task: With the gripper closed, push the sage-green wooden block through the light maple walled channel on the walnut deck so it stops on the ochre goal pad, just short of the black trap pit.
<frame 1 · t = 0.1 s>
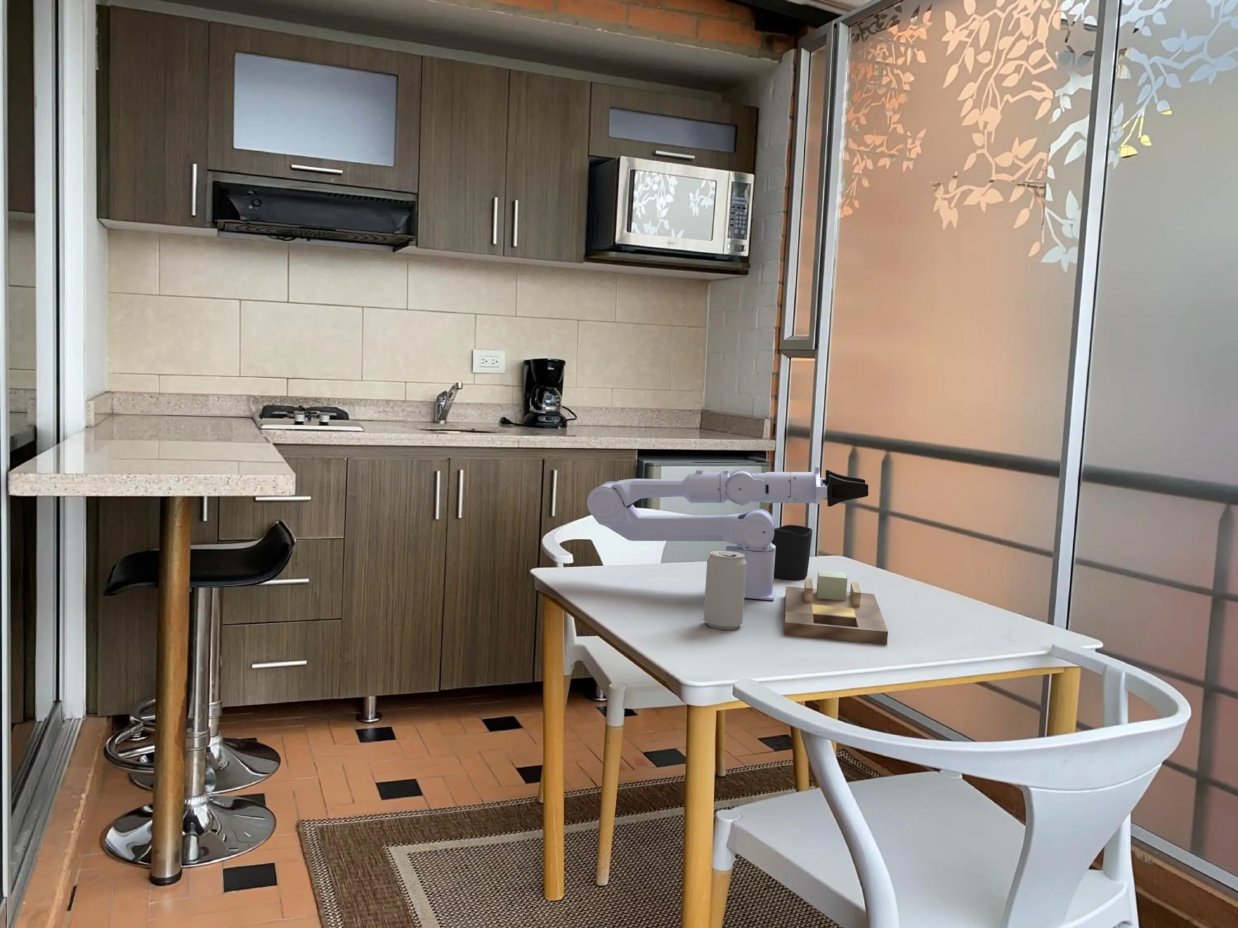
hand: (866, 487, 188), 22 cm above the table, tool horizontal, fingers open, 7 cm apart
block: (830, 596, 186), point 2 cm above the table, touching deck
pen holder: (785, 576, 213), on the table
beverage can: (722, 626, 169), on the table
deck: (831, 618, 178), on the table
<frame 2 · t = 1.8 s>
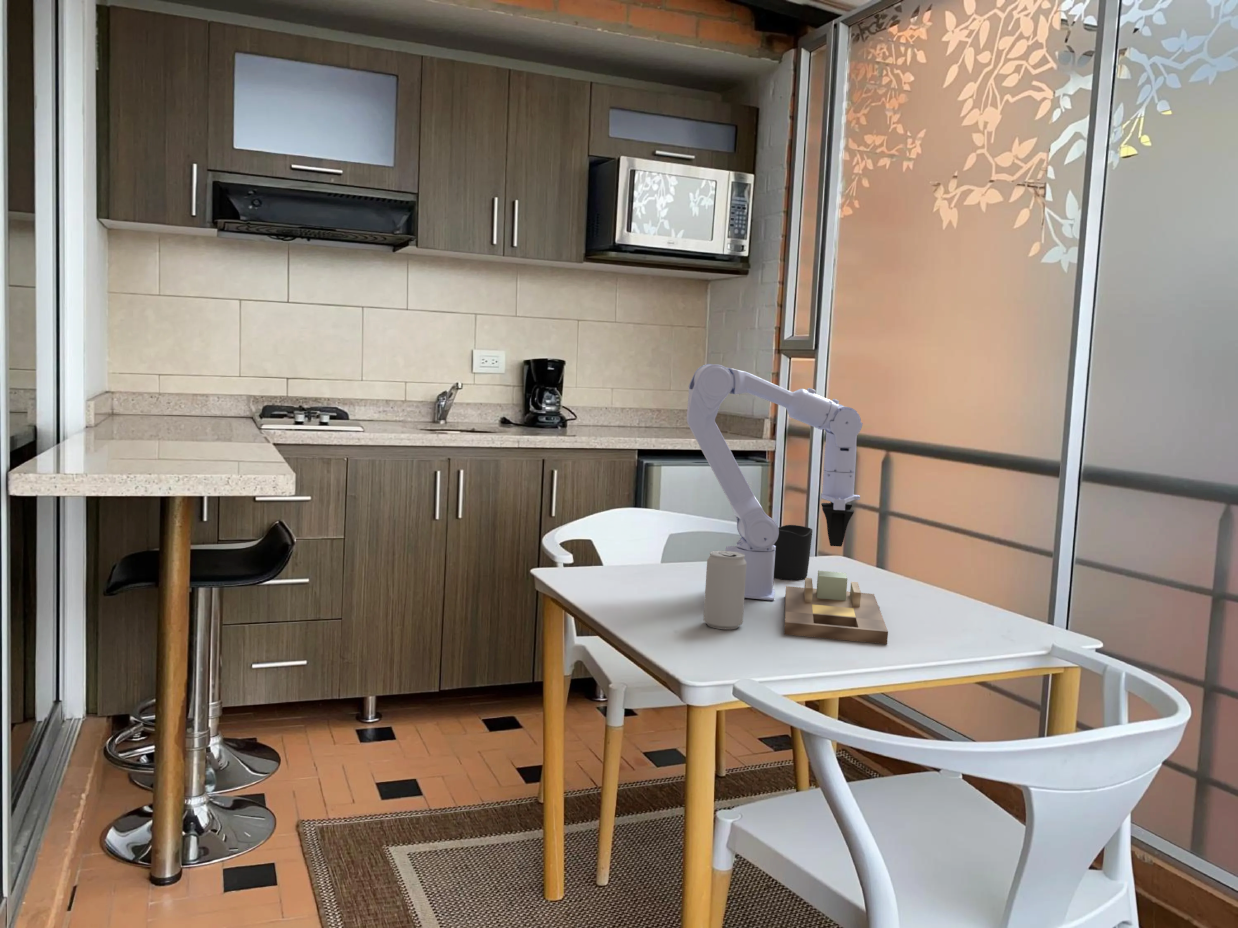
hand: (835, 543, 193), 10 cm above the table, tool pointing down, fingers open, 5 cm apart
nothing on the table moved.
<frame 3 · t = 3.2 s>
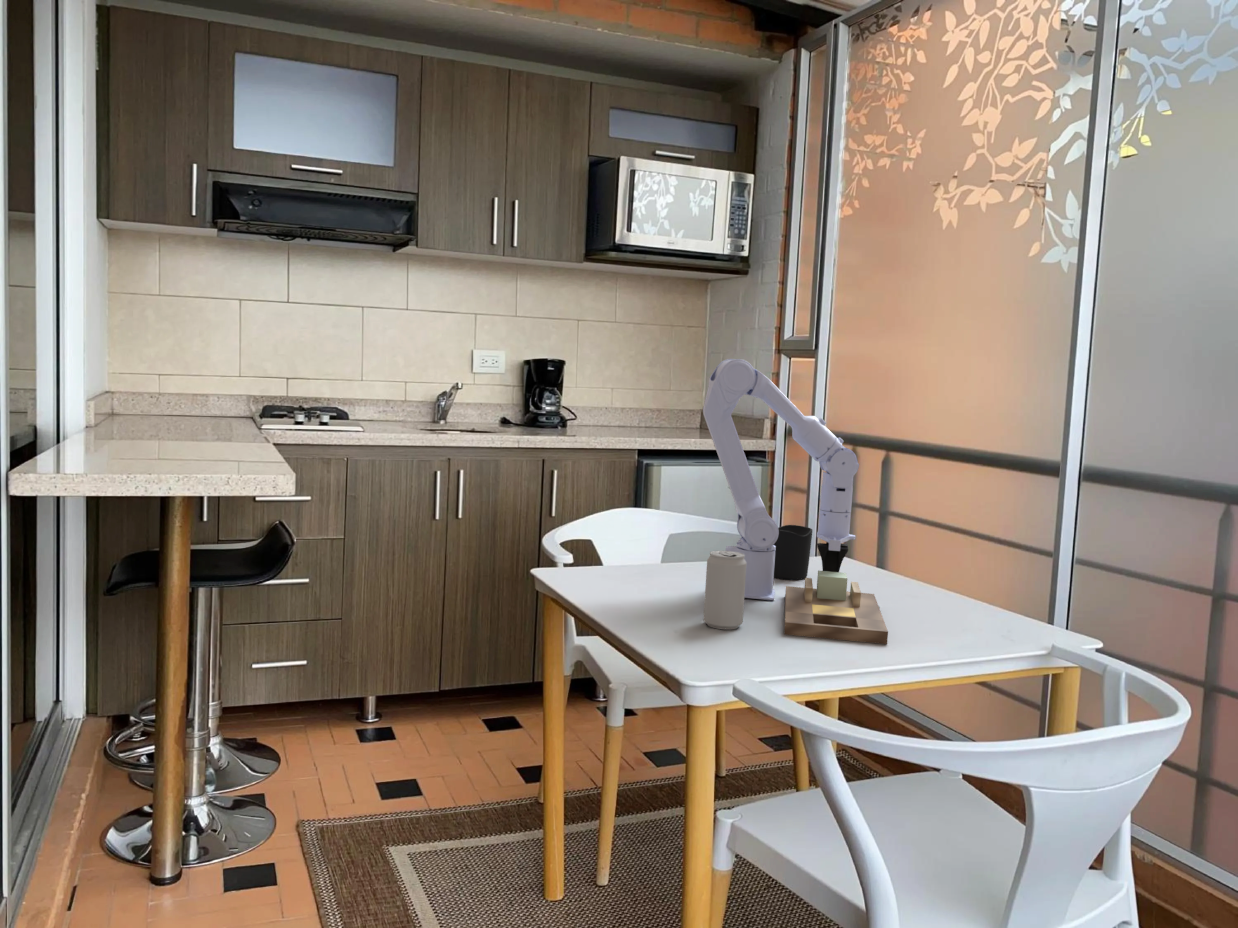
hand: (829, 582, 194), 3 cm above the table, tool pointing down, fingers closed
nothing on the table moved.
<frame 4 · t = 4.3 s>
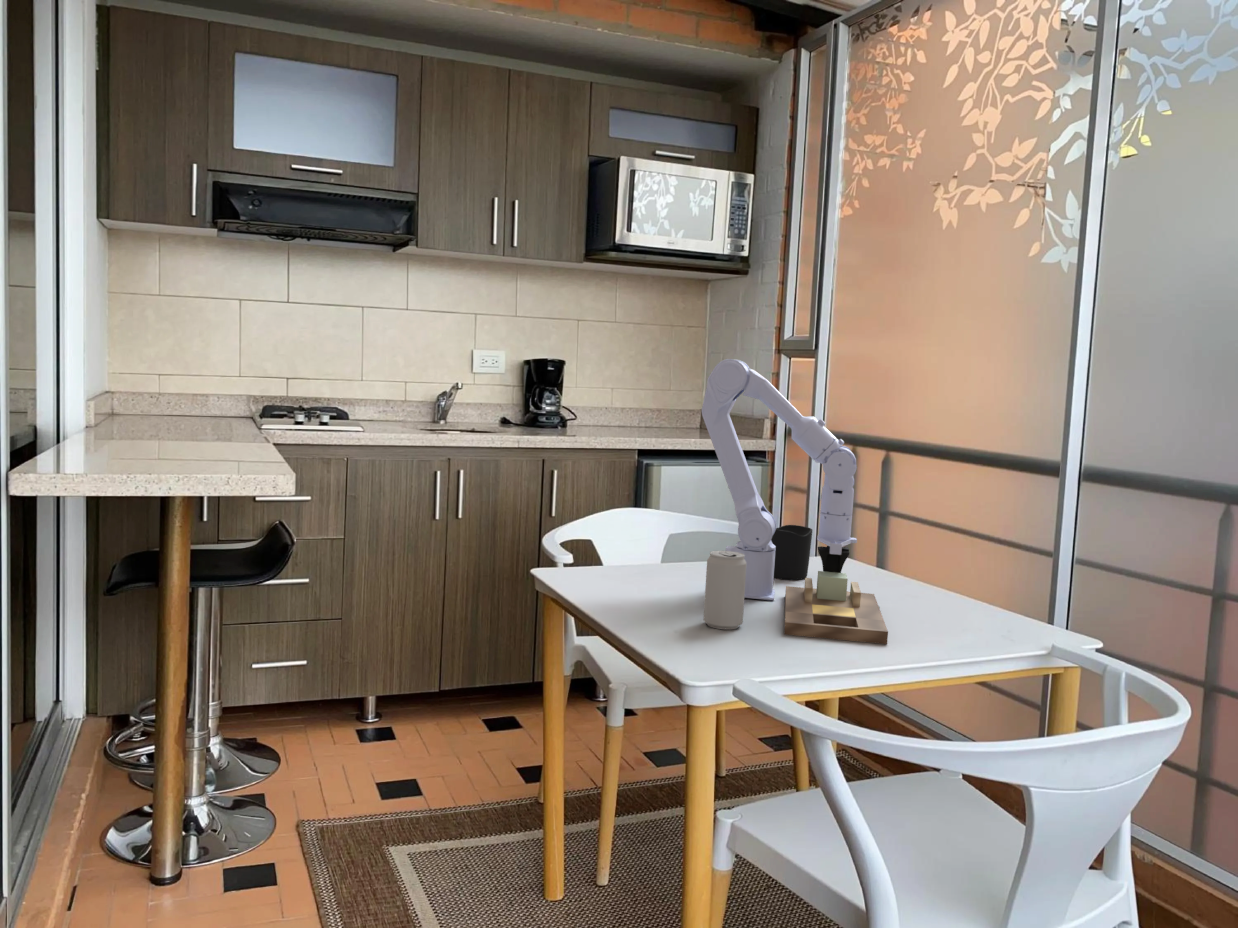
hand: (830, 586, 190), 3 cm above the table, tool pointing down, fingers closed
block: (830, 596, 186), point 2 cm above the table, touching gripper
everything else where it was.
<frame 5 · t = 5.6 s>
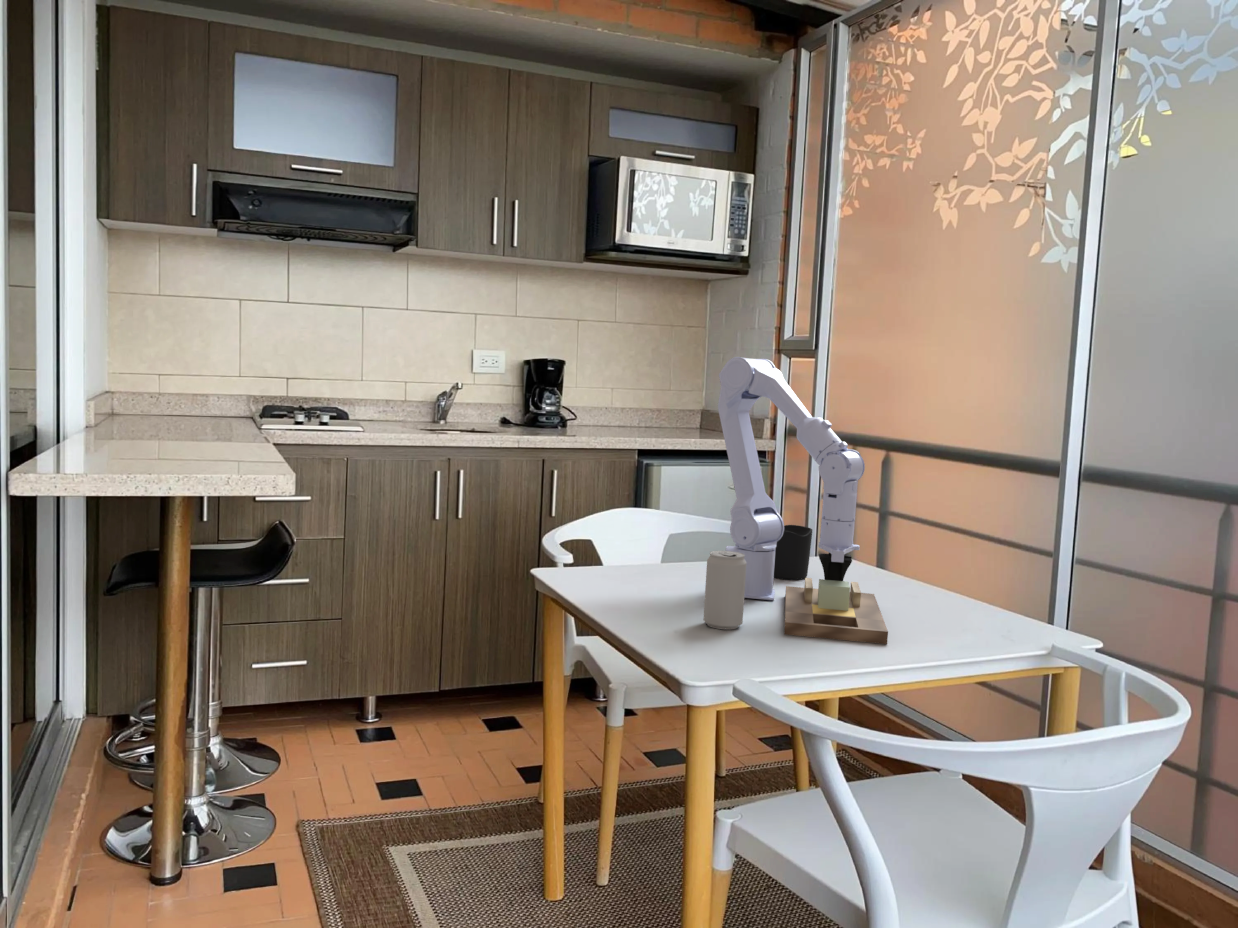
hand: (832, 595, 182), 3 cm above the table, tool pointing down, fingers closed
block: (832, 605, 179), point 2 cm above the table, touching deck, gripper
everything else where it was.
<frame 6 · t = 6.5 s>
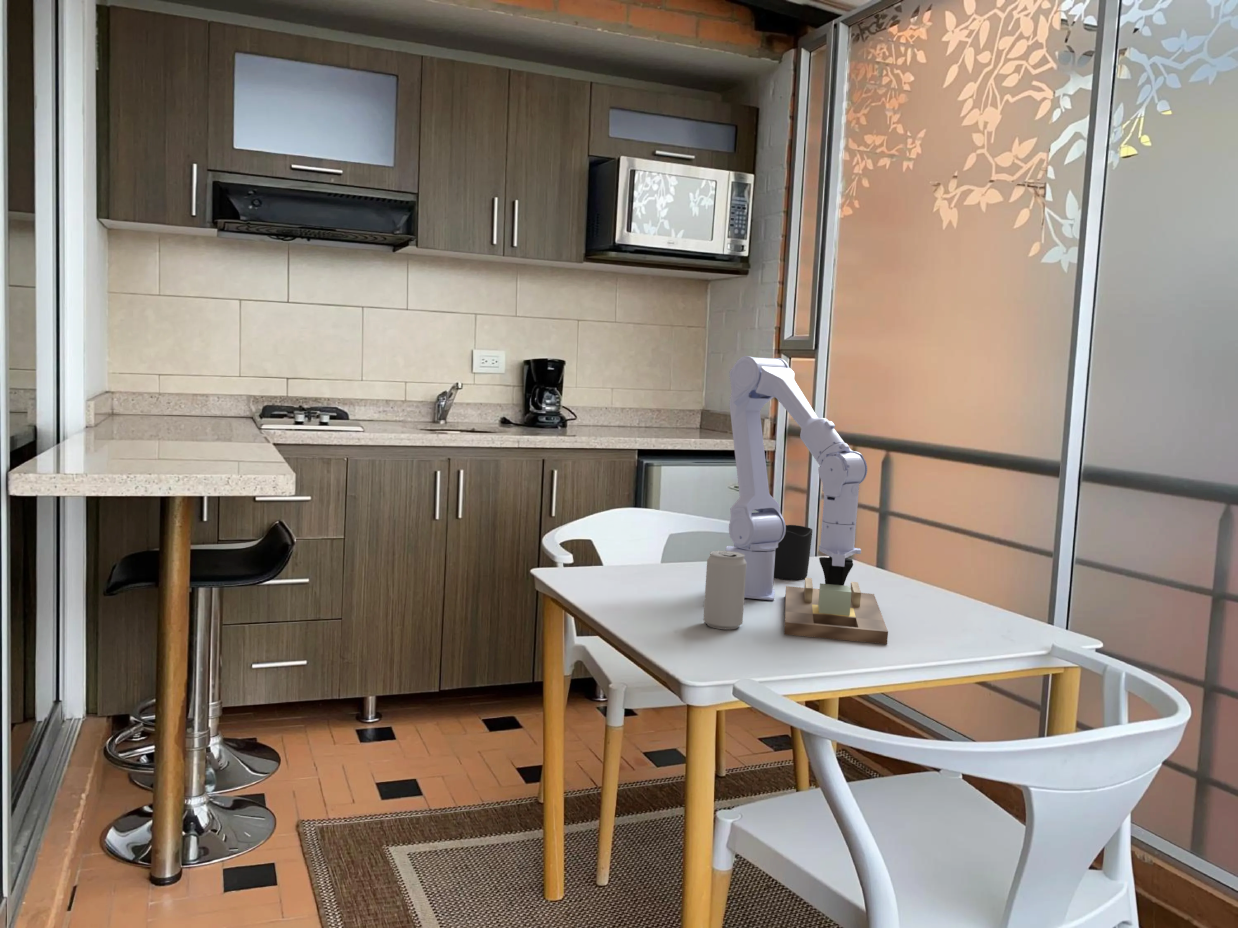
hand: (833, 599, 179), 3 cm above the table, tool pointing down, fingers closed
block: (833, 610, 175), point 2 cm above the table, touching deck, gripper
everything else where it was.
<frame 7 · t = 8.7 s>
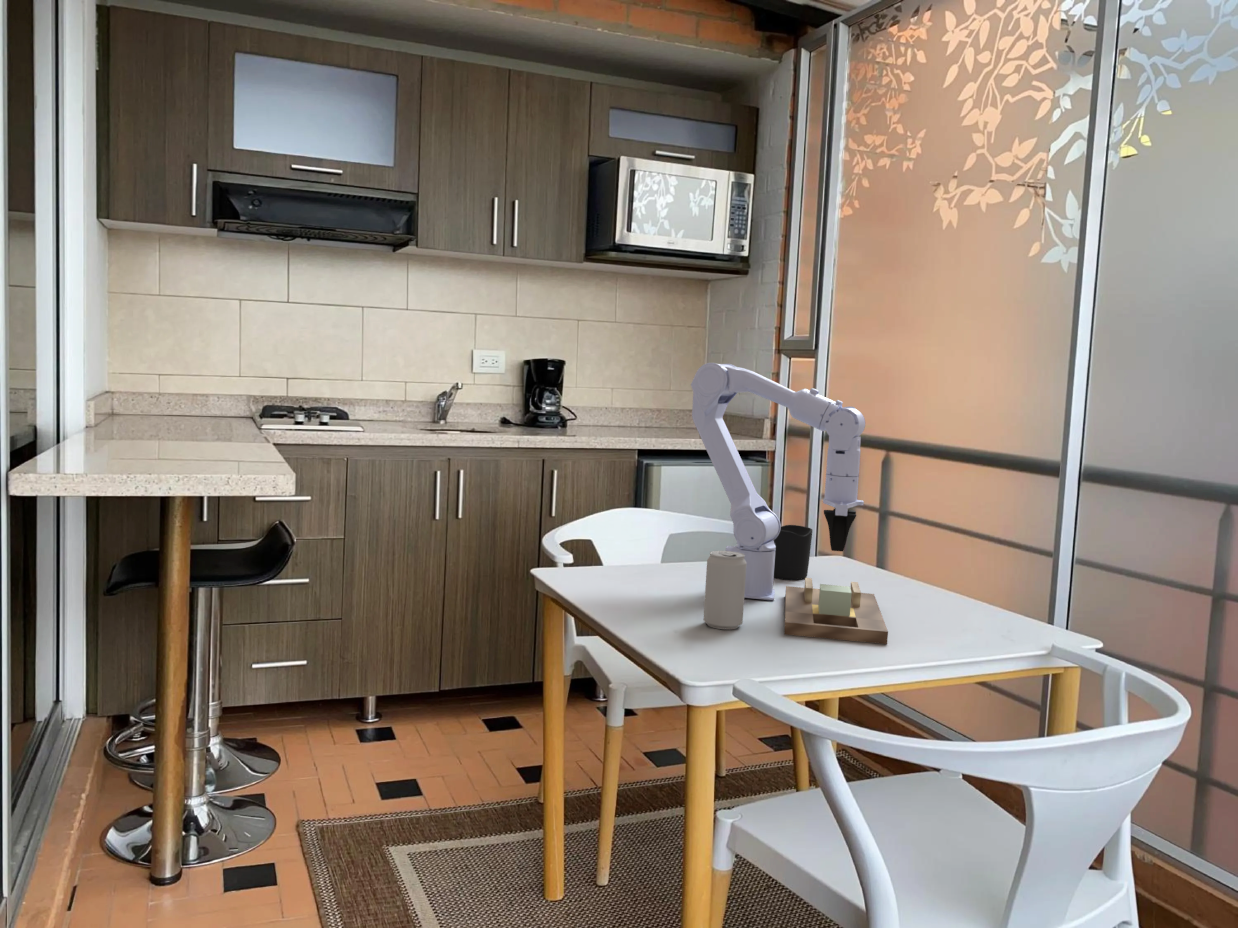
hand: (837, 550, 186), 10 cm above the table, tool pointing down, fingers closed
block: (833, 611, 175), point 2 cm above the table, touching deck
everything else where it was.
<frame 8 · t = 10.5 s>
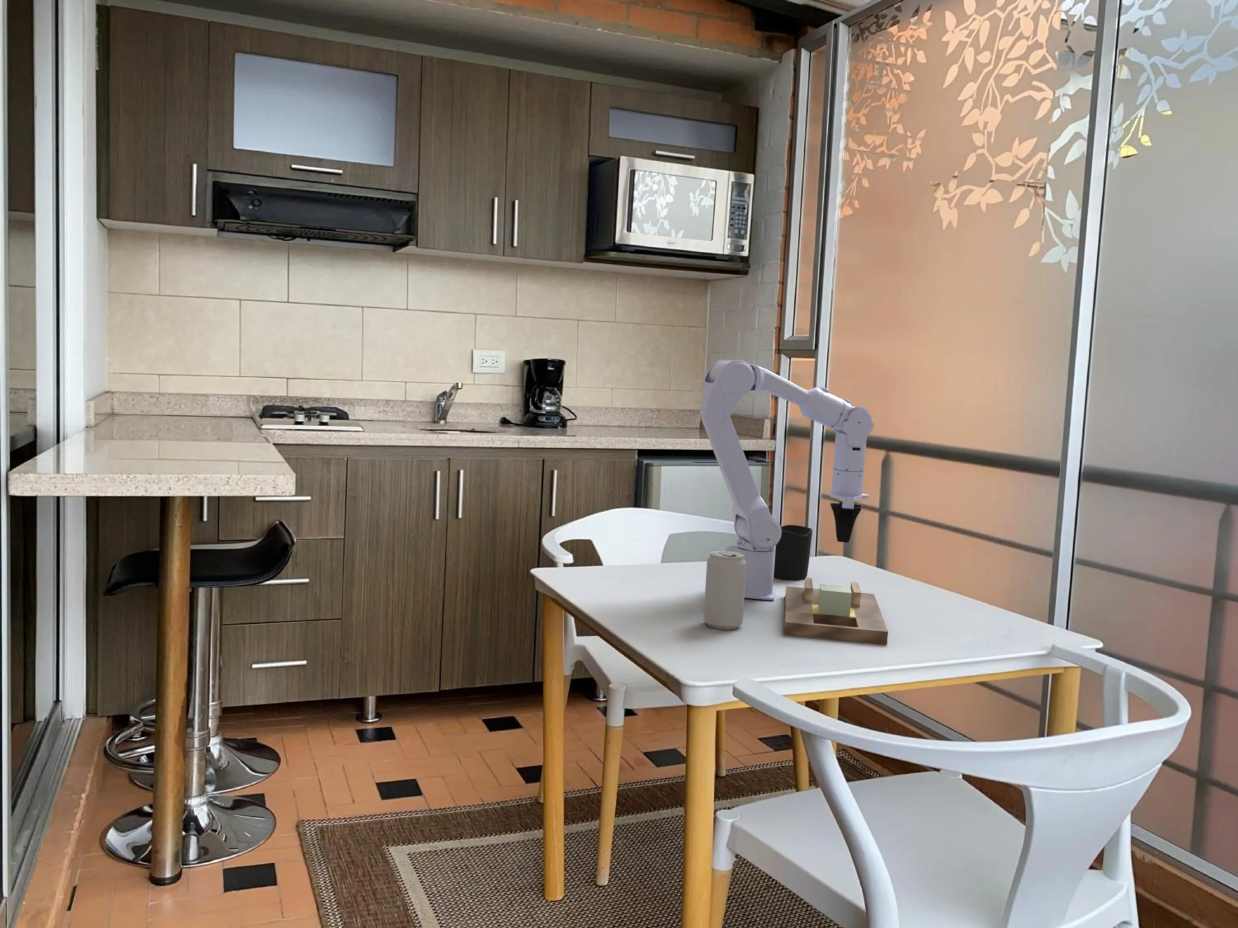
hand: (842, 541, 195), 10 cm above the table, tool pointing down, fingers closed
nothing on the table moved.
at the end: block 0.2 cm from the target spot on the deck, point 2.0 cm above the deck's base; block tilted 0° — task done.
